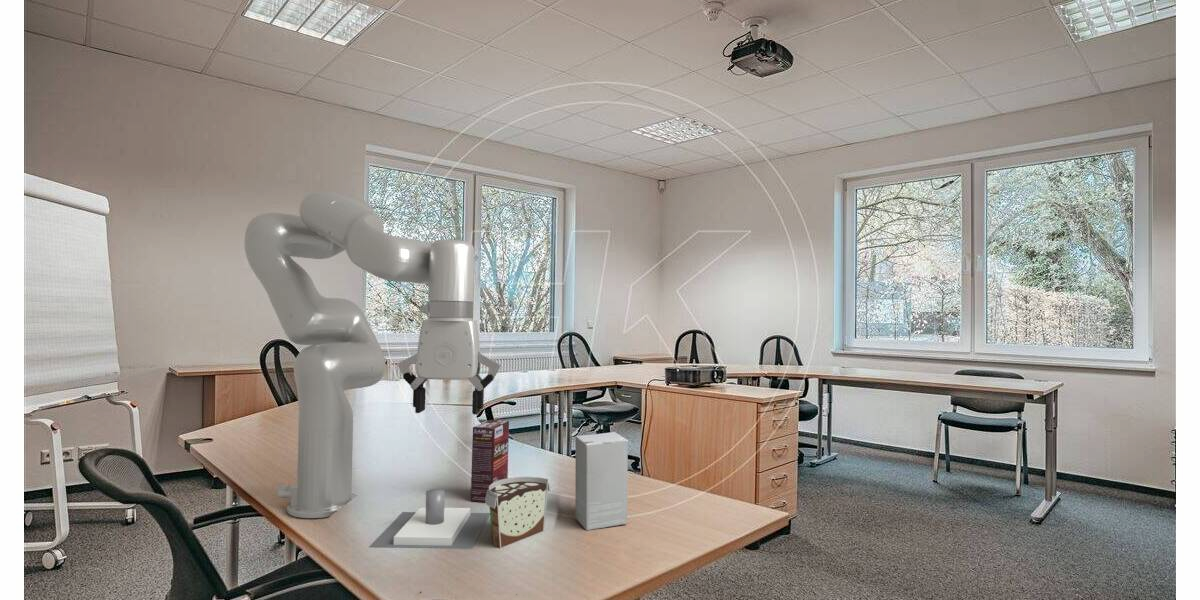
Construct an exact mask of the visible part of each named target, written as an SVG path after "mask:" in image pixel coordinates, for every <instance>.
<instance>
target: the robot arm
mask: <svg viewBox="0 0 1200 600" xmlns="http://www.w3.org/2000/svg"><path fill="white" fill-rule="evenodd" d="M298 211H299V215H296V214H291V213H281V212H266V213H261V214H257V215H256V216H255V217H253V218H252V219H251V220H250V221H249V223H248V224H247V227H246V229H245V232H244V239H243V240H244V244H243V245H244V252H245V256H246V259H247V262H248V265H249V267H250V268H251V270H252V272H253V274H254V275H255V276H256V278H257V279H258V280H259V282H260V284H261V285H262V287H263V288H264V290H265V292H266V294H267V296H268V299H269V301H270V303H271V305H272V308H273V310H274V313H275V314H276V316H277V319H278V321H279V324H280V325H281V327H282V330H283V331H284V333H285V335H286V337H287V338H288V339H289V341H291V342H292V343H293V344H295V345H296V344H297V345H300V346H301V345H303V346H307V347H305V348H304V349H302V350H301V351H299V353H298V354H297V356H296V358H294V362H293V363H294V364H293V375H294V383H295V387H296V392H297V400H298V436H297V437H298V438H297V439H298V440H297V446H298V447H297V475H296V476H297V478H296V479H297V480H296V481H297V482H296V484H295V485H290V484H281V485H280V484H279V486H278V488H277V490H276V491H277V498H278V499H285V498H286V499H290V503H288V505H287V510H286V511H287V512H286V513H287V514H288V515H290V516H291V517H295V518H300V519H320V518H330V517H331V516H333V515H334V514H335V513H337V512H338V511H339V510H341V509H342V508H343V507H344V506H346V505H347V504H348V503H350V502H351V501H352V500H354V499H355V498H356V497H358V495H357V494H355V493H354V492H352V489H353V487H352V486H353V484H352V483H353V476H352V475H353V446H354V445H353V443H354V442H353V440H354V414H353V408H352V405H351V403H350V402H349V400H348V398H347V396H346V394H345V391H348V390H356V389H362V388H368V387H372V386H374V385H376V384H378V383H379V382H380V381H381V380H382V378H383V377H384V375H385V372H386V359H385V355H384V352H383V350H382V348H381V345H380V343H379V341H378V339H377V337H376V335H375V334H374V331H373V329H372V326H371V324H370V322H369V321H368V319H367V317H366V316H365V314H364V312H363V310H362V308H360V307H359V305H357V304H356V303H355V302H354V301H351V300H349V299H346V298H340V297H339V298H337V297H325V296H323V295H321V294H320V293H319V291H318V290H317V288H316V286H315V284H314V281H313V279H312V277H311V276H310V274H309V273H308V272H307V271H306V270H305V269H304V268H303V267H302V266H301V265H299V264H298V263H297V262H296V261H295V260H293V258H304V259H313V260H325V259H330V258H332V257H335V256H337V255H339V254H340V253H342V252H344V251H346V255H347V256H348V259H349V260H350V262H351V263H353V264H354V265H355V266H357V267H358V268H360V269H362V270H363V271H365V272H366V273H369V274H371V275H373V276H374V277H376V278H379V279H381V280H385V281H388V282H397V283H398V282H399V283H412V284H425V285H428V293H427V294H428V298H427V299H428V301H426V304H424V305H423V304H422V305H419V313H420V314H421V313H422V314H425V316H426V317H427V319H422V320H421V321H422V322H421V324H420V331H419V334H418V335H419V336H418V343H417V350H416V351H417V352H416V354H413V355H412V356H410V357H407V358H405V359H404V360H402V361H400V362H398V363H397V367H398V369H399V371H400V373H401V374H402V377H403V380H405V381H406V382H407V384H408V385H409V386H410V388H411V389H412V390H413V391H412V407H413V408H415V410H414V411H415V412H414V413H415V414H420V413H422V412H424V411H426V387H425V386H424V384H425V383H426V382H427V381H428V380H438V381H439V380H440V381H442V380H444V381H445V380H447V381H463V380H464V381H467V380H469V382H470V383H471V385H472V386H473V387H474V390H473V391H472V405H471V406H472V407H471V408H472V409H471V413H472V415H478V414H479V413H480V412H481V410H483V409H484V403H485V402H484V398H485V393H484V392H485V389H486V388H487V386H489V385H490V384H491V382H493V381H494V380H495V378H496V376H497V374H498V372H499V370H500V369H501V364H499V362H497V361H494V360H493V359H491V358H490V357H488V356H485V355H484V354H482V353H481V347H480V346H481V345H480V335H479V327H478V322H477V320H474V289H475V288H474V287H475V283H474V281H475V247H474V245H473V244H472V243H471V242H469V241H466V240H462V239H461V240H459V239H437V240H435V241H433V242H430V241H423V240H418V239H412V238H406V237H399V236H393V235H391V234H388V233H386V232H385V228H384V223H383V221H382V219H381V217H380V216H379V215H378V214H377V213H376V211H375V210H374V208H373V206H372V205H371V204H370V203H369V202H368V201H366V200H364V199H361V198H359V197H355V196H350V195H346V194H342V193H337V192H333V191H328V190H327V191H324V190H323V191H322V190H319V191H315V192H314V191H313V192H312V193H311V192H310V193H309V194H308V195H306V196H305V197H304V198H303V199H302V200H301V203H300V205H299V209H298ZM292 257H293V258H292ZM414 364H415V373H416V375H415V374H414V373H413V372H412V371H411V366H412V365H414ZM481 364H482V365H483V366H484V367H486V368H488V369H489V371H488V373H487V375H485V377H484V378H482V377H481V376H480V373H481Z"/></svg>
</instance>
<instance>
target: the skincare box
mask: <svg viewBox="0 0 1200 600" xmlns="http://www.w3.org/2000/svg"><path fill="white" fill-rule="evenodd" d="M628 448H629V440H628V439H626V438H625V437H623V436H622V435H621V434H619V433H618V432H616V431H612V432H603V433H595V434H586V435H585V434H584V435H582V434H581V435H575V517H574V518H575V519H576V520H577V522H578V523H579V524H580V525H581V526H582V528H584V530H585V531H592V530H598V529H599V530H600V529H603V528H609V527H616V526H622V525H628V479H629V478H628V470H629V469H628V468H629V467H628V461H629V460H628V459H629V458H628V451H629V449H628Z"/></svg>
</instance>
